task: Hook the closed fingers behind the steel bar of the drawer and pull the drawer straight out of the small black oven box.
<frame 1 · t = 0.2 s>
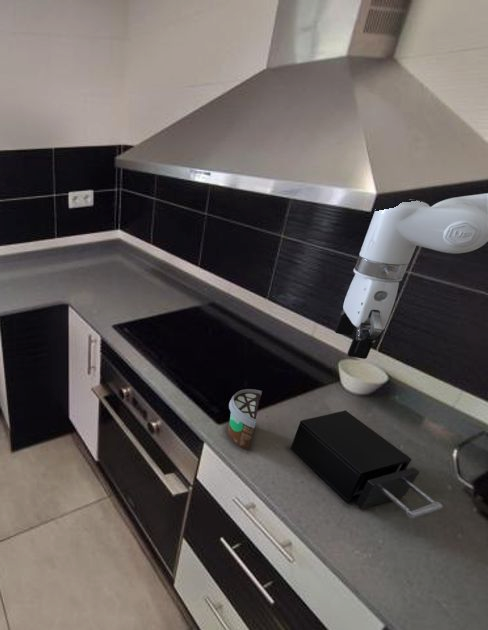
hand: (349, 344, 80), 26 cm above the worktop, tool pointing down, fingers open, 9 cm apart
drawer: (371, 475, 76), point 4 cm above the worktop, slide at 1.0 cm
food container: (236, 433, 92), on the worktop
mini oven: (339, 467, 83), on the worktop
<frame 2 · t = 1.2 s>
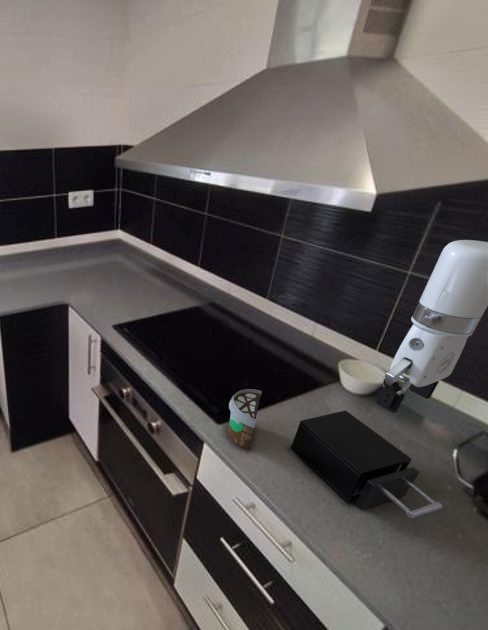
hand: (402, 400, 69), 22 cm above the worktop, tool pointing down, fingers open, 9 cm apart
nothing on the worktop moved.
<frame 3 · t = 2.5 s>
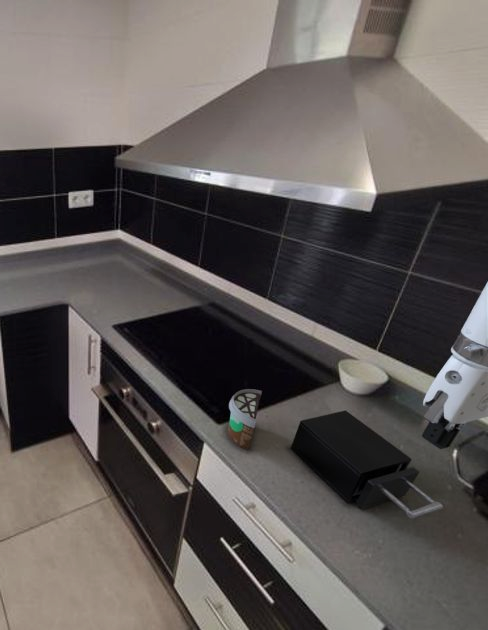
hand: (434, 441, 64), 19 cm above the worktop, tool pointing down, fingers closed
nothing on the worktop moved.
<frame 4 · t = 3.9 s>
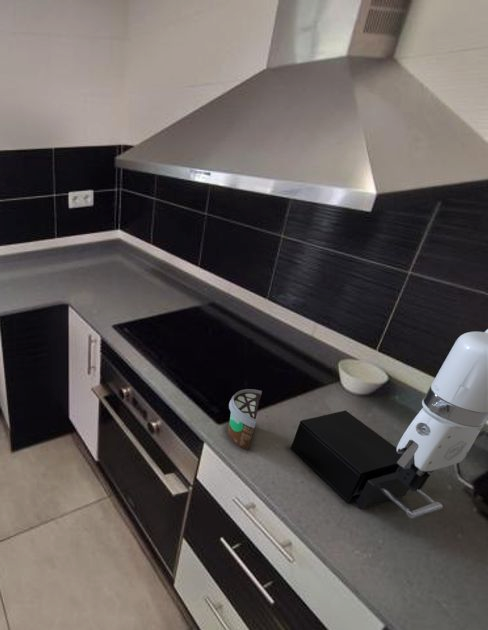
hand: (407, 483, 69), 9 cm above the worktop, tool pointing down, fingers closed
nothing on the worktop moved.
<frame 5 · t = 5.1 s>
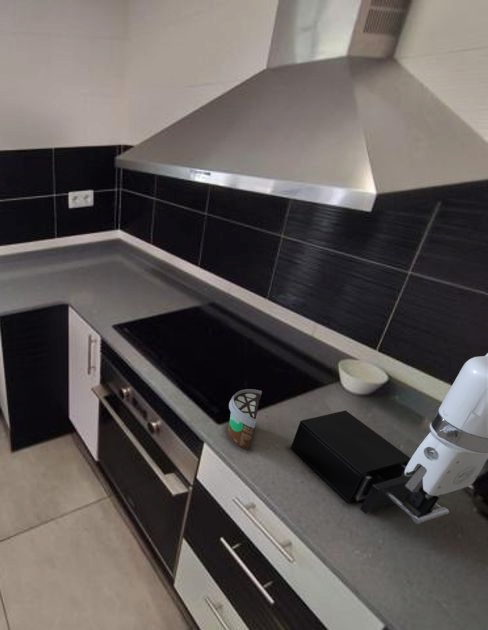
hand: (416, 506, 69), 6 cm above the worktop, tool pointing down, fingers closed
drawer: (376, 479, 75), point 4 cm above the worktop, slide at 2.0 cm, touching gripper
everything else where it was.
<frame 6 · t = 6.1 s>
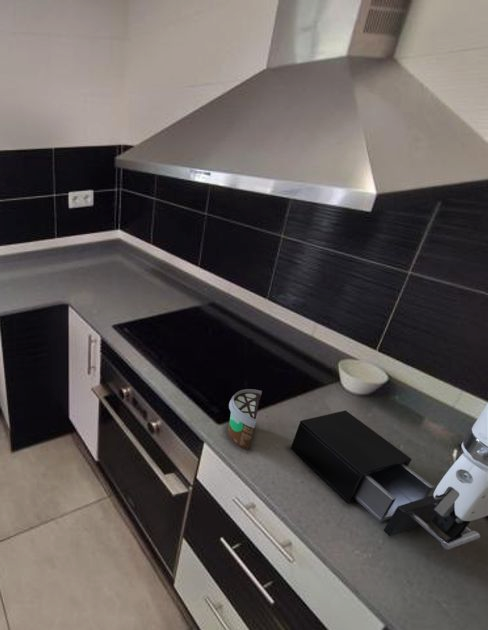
hand: (444, 529, 65), 6 cm above the worktop, tool pointing down, fingers closed
drawer: (400, 499, 71), point 4 cm above the worktop, slide at 6.6 cm, touching gripper
everything else where it was.
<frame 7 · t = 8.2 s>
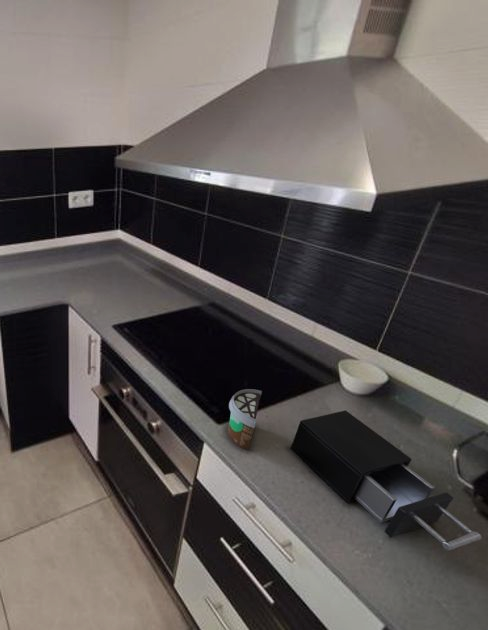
drawer: (401, 499, 71), point 4 cm above the worktop, slide at 6.8 cm
everything else where it was.
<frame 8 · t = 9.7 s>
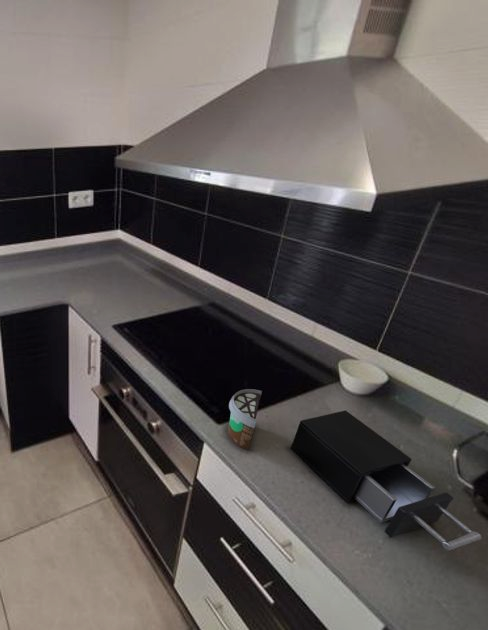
nothing on the worktop moved.
at the end: drawer slide at 6.8 cm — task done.
